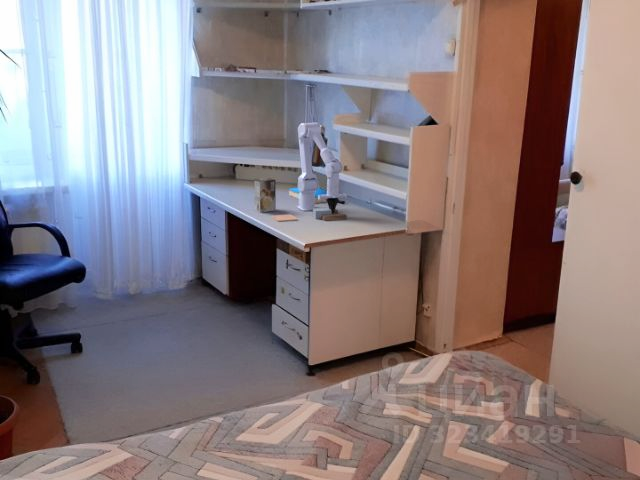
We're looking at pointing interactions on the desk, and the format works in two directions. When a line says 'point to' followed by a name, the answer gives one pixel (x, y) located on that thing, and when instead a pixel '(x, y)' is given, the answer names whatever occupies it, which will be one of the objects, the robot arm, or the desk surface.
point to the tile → (284, 218)
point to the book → (295, 193)
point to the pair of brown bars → (334, 216)
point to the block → (321, 212)
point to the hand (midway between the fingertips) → (331, 213)
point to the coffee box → (265, 194)
